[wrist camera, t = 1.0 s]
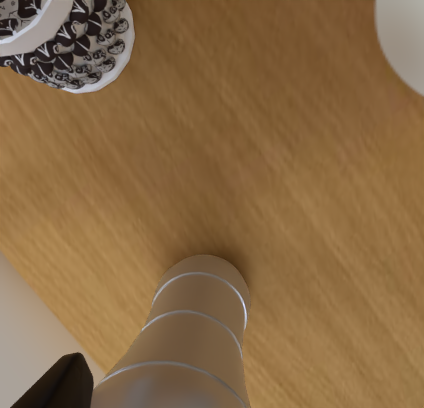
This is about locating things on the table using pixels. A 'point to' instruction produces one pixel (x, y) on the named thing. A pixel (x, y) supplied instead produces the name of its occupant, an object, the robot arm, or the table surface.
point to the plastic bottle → (186, 343)
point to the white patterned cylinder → (67, 41)
